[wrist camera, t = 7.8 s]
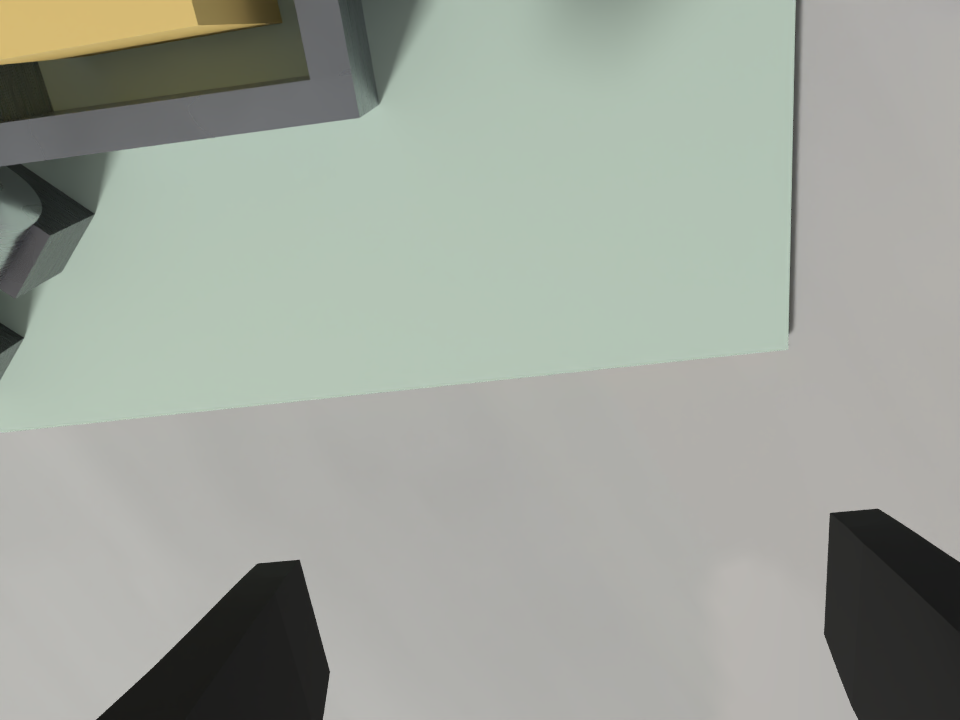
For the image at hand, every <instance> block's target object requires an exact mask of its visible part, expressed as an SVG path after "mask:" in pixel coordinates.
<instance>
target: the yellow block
mask: <svg viewBox="0 0 960 720" xmlns="http://www.w3.org/2000/svg"><path fill="white" fill-rule="evenodd" d="M279 23H282V18H281V14H280V10H279V5H278V1H277V0H0V65H4V64H14V63H24V62H35V61H45V60H56V59H66V58H77V57H86V56H91V55H97V54H103V53H109V52H115V51H121V50H127V49H132V48H138V47H144V46H150V45H156V44H162V43H168V42H173V41H179V40H185V39H191V38H197V37H203V36H209V35H214V34H220V33H226V32H232V31H238V30H244V29H250V28H255V27H261V26H267V25H273V24H279Z"/></svg>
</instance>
